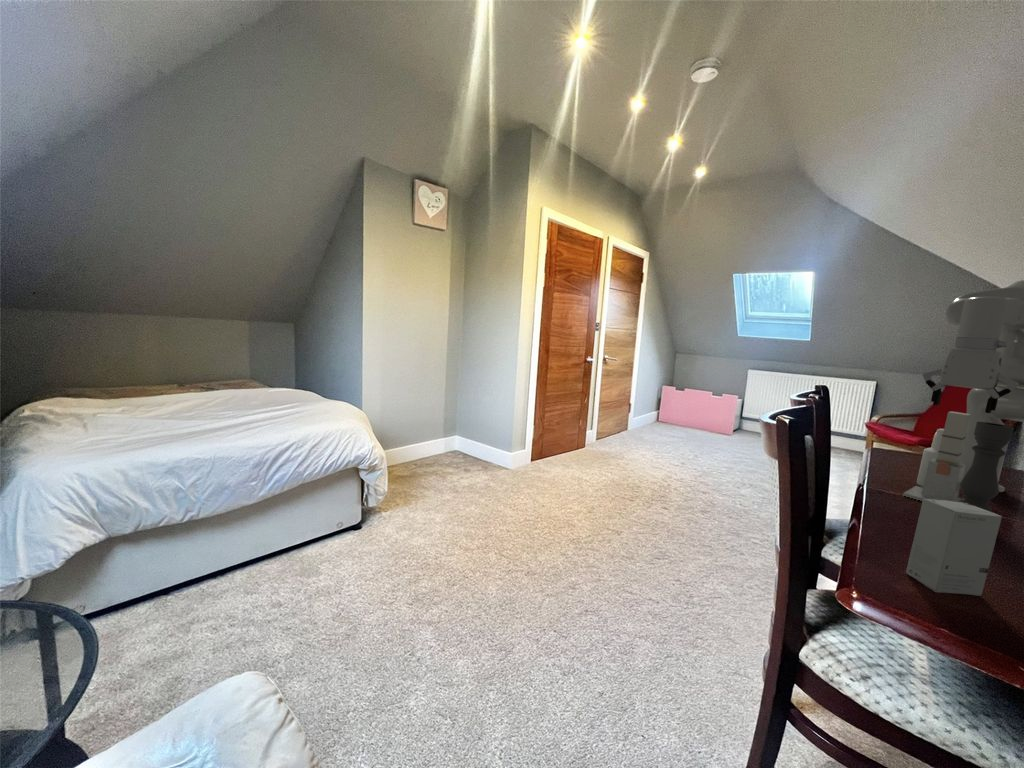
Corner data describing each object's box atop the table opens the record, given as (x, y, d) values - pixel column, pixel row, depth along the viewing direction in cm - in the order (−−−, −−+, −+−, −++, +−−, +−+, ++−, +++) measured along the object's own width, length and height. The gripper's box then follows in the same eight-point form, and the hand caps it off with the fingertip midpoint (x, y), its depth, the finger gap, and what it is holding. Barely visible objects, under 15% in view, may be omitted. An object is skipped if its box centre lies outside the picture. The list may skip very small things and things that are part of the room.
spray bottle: (946, 493, 120) (961, 434, 117) (914, 485, 125) (927, 428, 122) (948, 488, 124) (962, 431, 121) (917, 481, 129) (930, 425, 126)
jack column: (936, 471, 115) (950, 411, 112) (955, 476, 112) (971, 414, 109) (932, 473, 113) (947, 412, 110) (952, 478, 110) (968, 415, 107)
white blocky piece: (915, 489, 122) (923, 451, 120) (974, 505, 112) (985, 464, 110) (902, 496, 115) (911, 456, 113) (964, 514, 105) (975, 470, 103)
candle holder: (997, 532, 96) (1024, 429, 92) (970, 530, 96) (996, 427, 92) (968, 519, 102) (993, 422, 98) (943, 517, 102) (967, 420, 99)
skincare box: (935, 593, 70) (955, 512, 68) (902, 572, 76) (920, 497, 74) (984, 597, 70) (1006, 515, 68) (947, 575, 76) (966, 500, 74)
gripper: (1030, 347, 102) (1013, 414, 105) (933, 342, 116) (921, 401, 119) (1025, 348, 98) (1008, 417, 101) (926, 342, 112) (913, 403, 115)
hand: (961, 408), depth 110 cm, fingers open, 9 cm apart
